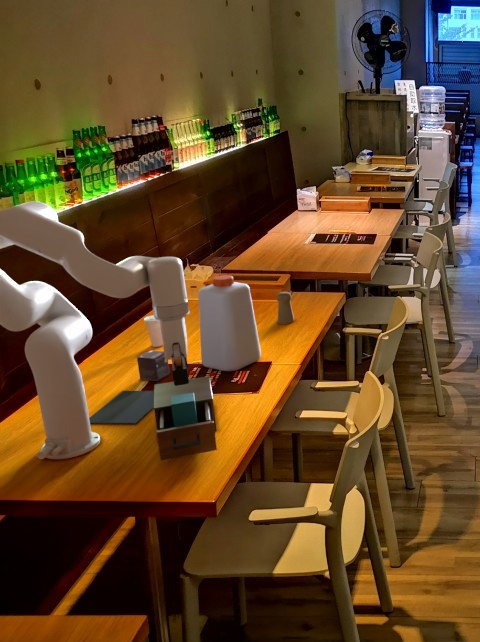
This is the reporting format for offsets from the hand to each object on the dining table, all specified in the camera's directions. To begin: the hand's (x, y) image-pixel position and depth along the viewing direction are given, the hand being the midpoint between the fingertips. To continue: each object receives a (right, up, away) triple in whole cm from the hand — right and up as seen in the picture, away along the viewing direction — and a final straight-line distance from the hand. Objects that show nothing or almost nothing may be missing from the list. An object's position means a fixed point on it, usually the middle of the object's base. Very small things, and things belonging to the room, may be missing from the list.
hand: (181, 376), depth 175 cm
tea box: (0, -15, +4) cm, 16 cm away
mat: (-25, -12, +24) cm, 36 cm away
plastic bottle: (-8, -3, +55) cm, 56 cm away
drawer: (+1, -17, +2) cm, 17 cm away
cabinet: (-5, -14, +15) cm, 21 cm away
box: (-27, -6, +44) cm, 52 cm away
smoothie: (-39, +1, +70) cm, 81 cm away
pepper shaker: (-2, +8, +94) cm, 94 cm away
